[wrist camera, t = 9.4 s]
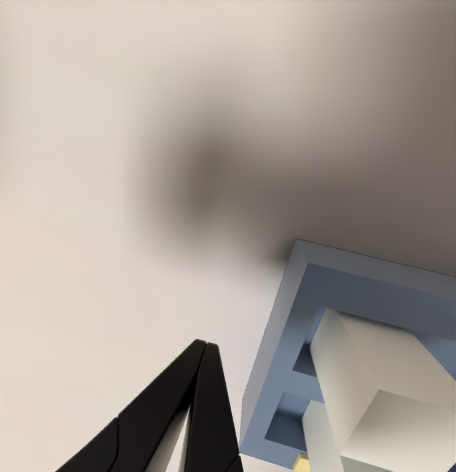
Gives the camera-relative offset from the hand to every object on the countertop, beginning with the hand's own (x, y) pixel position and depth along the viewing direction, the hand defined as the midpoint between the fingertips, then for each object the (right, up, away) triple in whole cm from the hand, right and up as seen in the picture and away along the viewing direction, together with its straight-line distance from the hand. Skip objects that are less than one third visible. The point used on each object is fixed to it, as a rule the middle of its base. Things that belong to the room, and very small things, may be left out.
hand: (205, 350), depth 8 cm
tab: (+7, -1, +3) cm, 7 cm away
